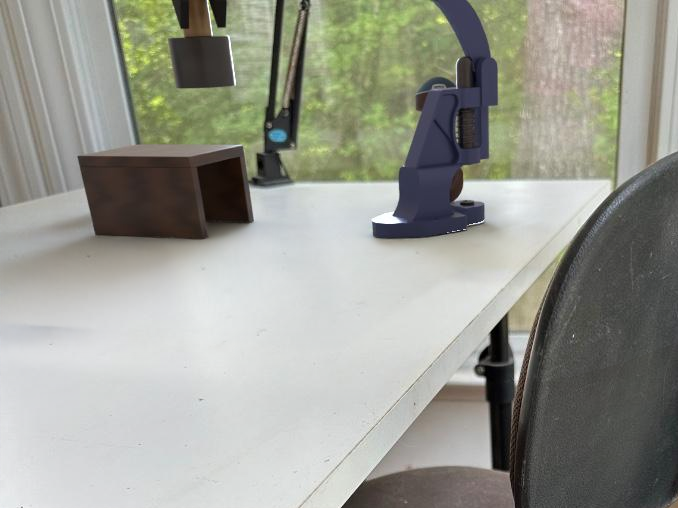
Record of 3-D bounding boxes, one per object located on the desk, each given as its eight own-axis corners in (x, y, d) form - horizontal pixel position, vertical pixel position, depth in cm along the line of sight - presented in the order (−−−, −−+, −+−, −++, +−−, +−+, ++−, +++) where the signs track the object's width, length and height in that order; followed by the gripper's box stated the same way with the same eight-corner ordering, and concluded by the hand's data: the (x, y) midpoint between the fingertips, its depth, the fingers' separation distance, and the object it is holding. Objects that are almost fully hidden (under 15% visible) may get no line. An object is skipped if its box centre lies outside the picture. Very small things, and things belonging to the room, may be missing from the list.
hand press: (469, 214, 117) (464, -51, 102) (511, 222, 111) (512, -58, 96) (343, 234, 108) (317, -53, 93) (380, 244, 102) (359, -61, 87)
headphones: (419, 183, 134) (419, 225, 117) (414, 66, 125) (413, 93, 107) (461, 181, 134) (466, 224, 117) (459, 65, 125) (465, 92, 107)
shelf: (95, 234, 113) (76, 155, 108) (152, 217, 123) (138, 144, 118) (203, 239, 108) (188, 156, 103) (254, 221, 118) (243, 144, 113)
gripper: (40, -245, 77) (108, -22, 73) (221, -234, 82) (293, -25, 78) (52, -155, 84) (115, 54, 80) (219, -149, 89) (285, 46, 85)
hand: (203, 14), depth 79 cm, fingers closed on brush, 3 cm apart
